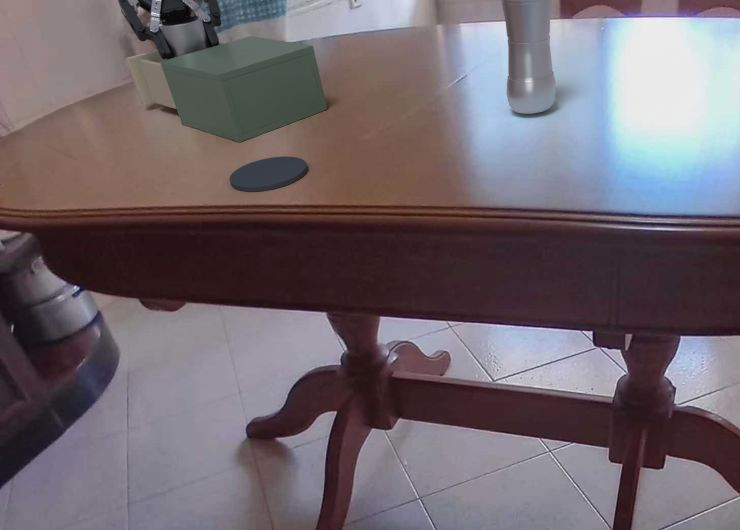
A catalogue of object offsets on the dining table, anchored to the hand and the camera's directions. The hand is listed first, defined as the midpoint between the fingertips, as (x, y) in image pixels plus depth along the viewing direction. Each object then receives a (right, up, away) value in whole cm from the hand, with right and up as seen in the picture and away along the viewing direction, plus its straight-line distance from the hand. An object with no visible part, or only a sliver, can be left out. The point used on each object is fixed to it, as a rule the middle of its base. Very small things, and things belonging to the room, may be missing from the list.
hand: (192, 53), depth 104 cm
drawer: (-2, -4, +7) cm, 8 cm away
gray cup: (0, -4, +5) cm, 6 cm away
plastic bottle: (+50, -13, -12) cm, 53 cm away
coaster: (+18, -24, -21) cm, 37 cm away
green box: (+10, -10, -2) cm, 14 cm away
